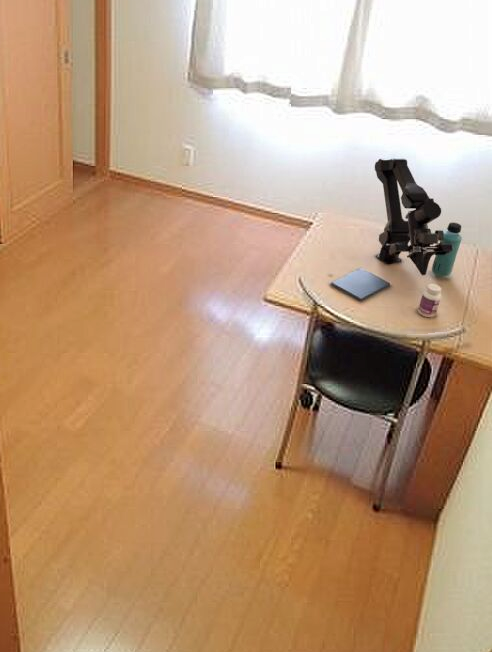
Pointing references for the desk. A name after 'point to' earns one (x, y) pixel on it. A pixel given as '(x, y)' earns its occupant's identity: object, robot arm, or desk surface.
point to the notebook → (360, 284)
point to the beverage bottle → (446, 262)
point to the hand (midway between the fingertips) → (423, 275)
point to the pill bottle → (430, 301)
